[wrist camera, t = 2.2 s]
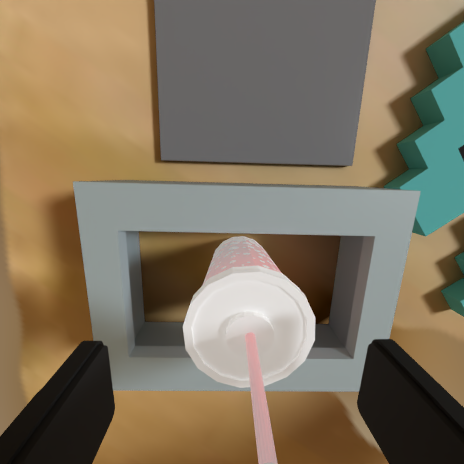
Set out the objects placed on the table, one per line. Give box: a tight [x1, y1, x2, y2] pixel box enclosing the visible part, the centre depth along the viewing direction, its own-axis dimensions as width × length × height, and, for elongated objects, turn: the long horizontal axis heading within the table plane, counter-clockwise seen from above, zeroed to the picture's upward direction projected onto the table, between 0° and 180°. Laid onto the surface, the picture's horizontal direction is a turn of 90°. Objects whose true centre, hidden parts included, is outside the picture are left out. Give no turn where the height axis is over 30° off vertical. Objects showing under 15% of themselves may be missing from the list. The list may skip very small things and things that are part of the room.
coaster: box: [154, 0, 376, 166], centre depth 15 cm, size 14×14×1 cm
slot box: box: [73, 180, 421, 392], centre depth 16 cm, size 18×13×6 cm
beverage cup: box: [183, 236, 315, 464], centre depth 12 cm, size 6×6×14 cm
